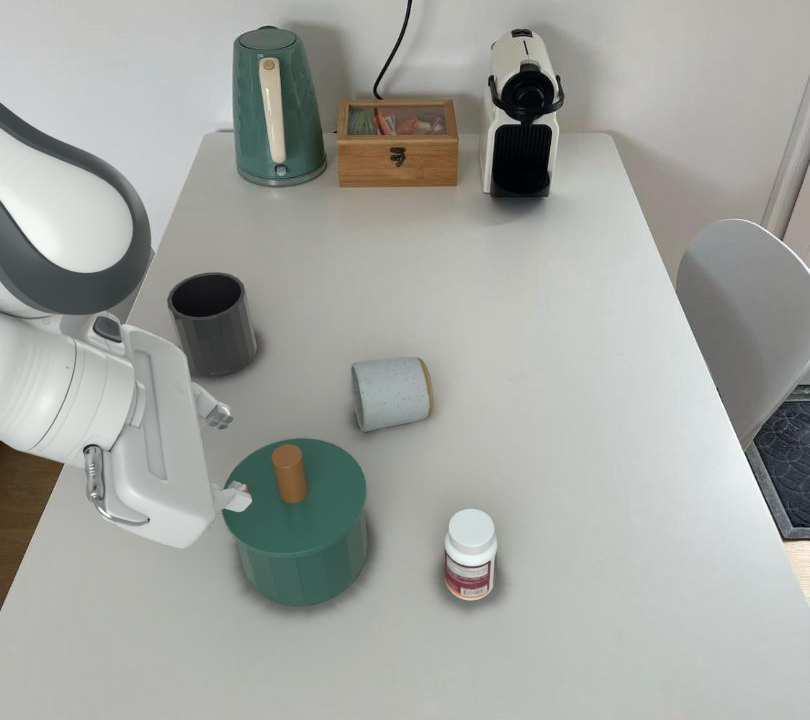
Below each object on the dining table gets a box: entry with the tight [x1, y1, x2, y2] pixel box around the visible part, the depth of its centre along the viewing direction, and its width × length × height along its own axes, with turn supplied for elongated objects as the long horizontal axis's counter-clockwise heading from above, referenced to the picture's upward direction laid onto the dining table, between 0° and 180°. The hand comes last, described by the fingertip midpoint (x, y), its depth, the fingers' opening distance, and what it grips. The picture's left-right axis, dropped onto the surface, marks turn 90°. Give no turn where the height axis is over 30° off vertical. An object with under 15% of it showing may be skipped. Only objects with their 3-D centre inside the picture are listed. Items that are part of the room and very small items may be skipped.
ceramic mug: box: [350, 356, 434, 433], centre depth 90 cm, size 11×8×8 cm
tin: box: [234, 509, 369, 607], centre depth 76 cm, size 12×12×8 cm
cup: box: [166, 271, 258, 378], centre depth 98 cm, size 9×9×9 cm
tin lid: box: [221, 437, 368, 558], centre depth 71 cm, size 13×13×6 cm
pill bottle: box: [443, 507, 499, 601], centre depth 73 cm, size 5×5×8 cm
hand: (237, 457), depth 69 cm, fingers open, 8 cm apart
